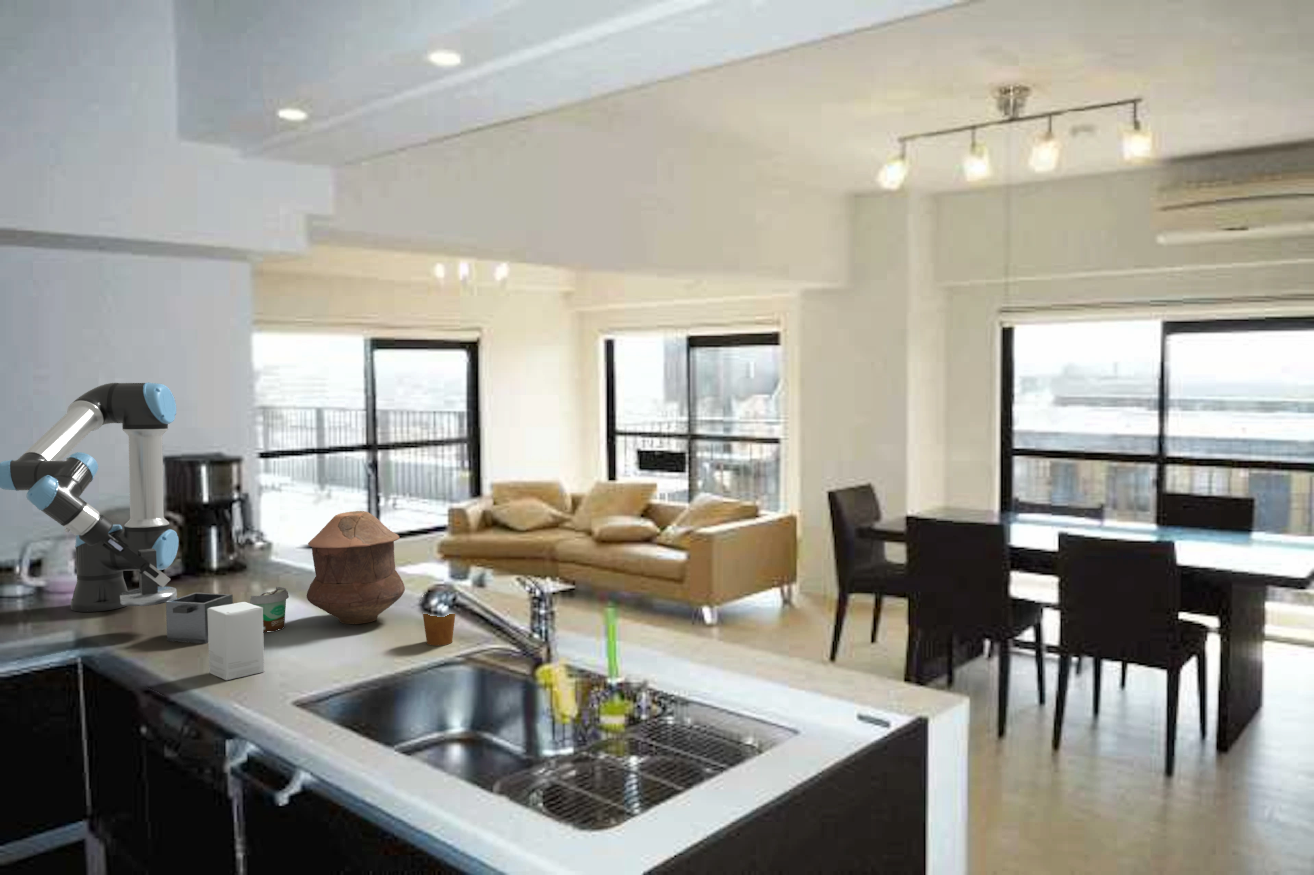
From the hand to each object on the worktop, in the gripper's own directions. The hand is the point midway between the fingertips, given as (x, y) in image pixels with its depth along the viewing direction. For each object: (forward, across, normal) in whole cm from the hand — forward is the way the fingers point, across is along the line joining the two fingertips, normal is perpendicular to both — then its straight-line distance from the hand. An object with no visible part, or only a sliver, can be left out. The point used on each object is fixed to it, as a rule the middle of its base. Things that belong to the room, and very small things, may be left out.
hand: (164, 581), depth 253 cm
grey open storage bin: (+13, +12, -5) cm, 18 cm away
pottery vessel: (+40, +21, +21) cm, 50 cm away
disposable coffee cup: (+46, +54, +27) cm, 76 cm away
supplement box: (+12, +49, -6) cm, 51 cm away
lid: (0, 0, -6) cm, 6 cm away
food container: (+26, +15, +7) cm, 31 cm away
